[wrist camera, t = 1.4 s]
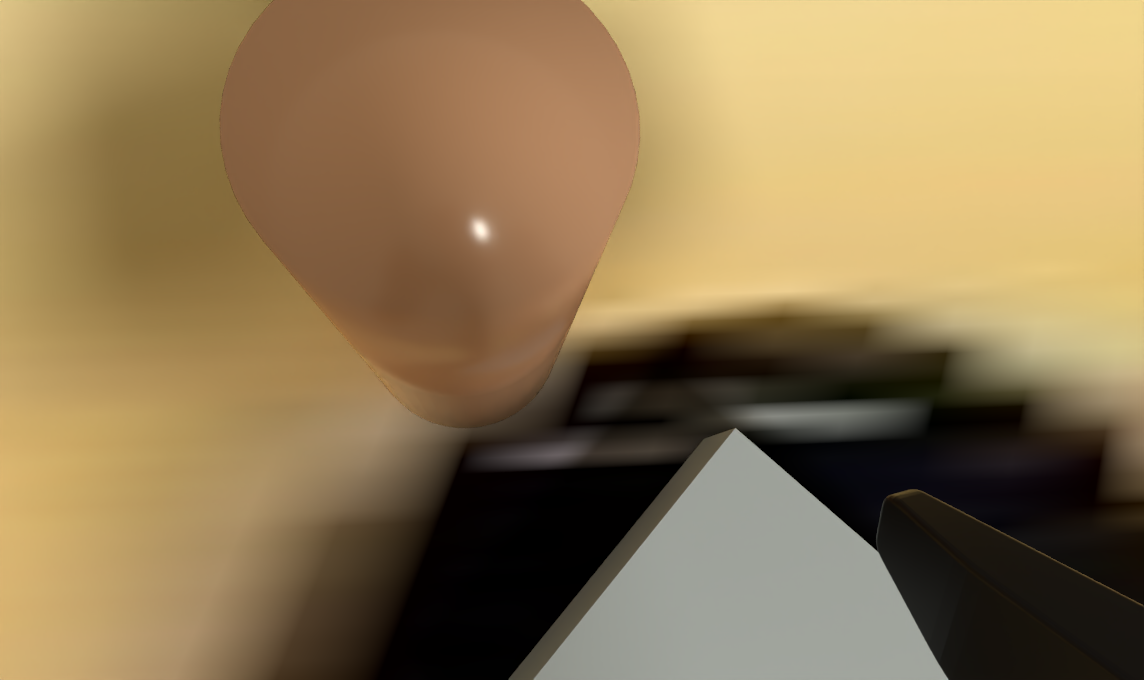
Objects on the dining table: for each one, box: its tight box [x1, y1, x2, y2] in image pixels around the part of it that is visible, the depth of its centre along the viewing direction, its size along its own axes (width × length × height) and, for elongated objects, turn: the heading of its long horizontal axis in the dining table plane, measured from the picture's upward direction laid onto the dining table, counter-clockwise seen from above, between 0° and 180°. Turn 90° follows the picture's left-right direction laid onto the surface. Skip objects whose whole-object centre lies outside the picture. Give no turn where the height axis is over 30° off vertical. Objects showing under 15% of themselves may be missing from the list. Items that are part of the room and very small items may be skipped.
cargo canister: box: [220, 0, 640, 428], centre depth 16 cm, size 6×6×13 cm
